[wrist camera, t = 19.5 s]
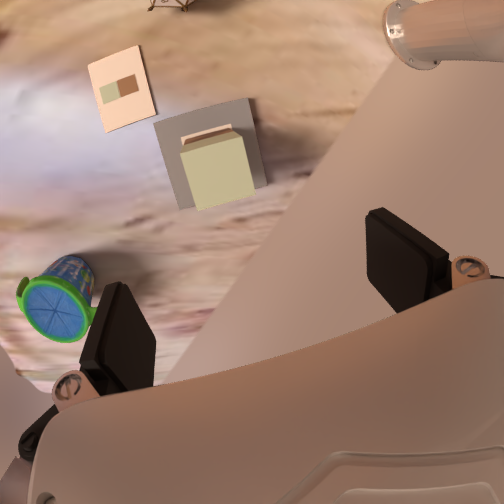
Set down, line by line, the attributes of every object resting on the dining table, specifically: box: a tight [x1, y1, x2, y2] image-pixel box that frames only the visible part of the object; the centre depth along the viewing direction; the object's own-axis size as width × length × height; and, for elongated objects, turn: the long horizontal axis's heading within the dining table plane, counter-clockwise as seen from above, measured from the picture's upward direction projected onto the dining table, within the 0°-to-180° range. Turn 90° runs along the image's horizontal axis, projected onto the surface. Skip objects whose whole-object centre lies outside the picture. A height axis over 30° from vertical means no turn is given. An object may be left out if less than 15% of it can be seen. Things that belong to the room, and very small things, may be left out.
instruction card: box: [88, 45, 156, 133], centre depth 31 cm, size 7×10×1 cm
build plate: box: [153, 98, 267, 210], centre depth 37 cm, size 12×12×1 cm
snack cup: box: [16, 256, 97, 343], centre depth 37 cm, size 16×10×10 cm
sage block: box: [180, 131, 256, 211], centre depth 28 cm, size 6×6×6 cm
